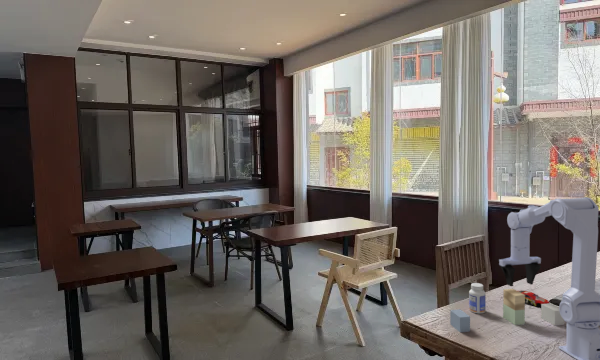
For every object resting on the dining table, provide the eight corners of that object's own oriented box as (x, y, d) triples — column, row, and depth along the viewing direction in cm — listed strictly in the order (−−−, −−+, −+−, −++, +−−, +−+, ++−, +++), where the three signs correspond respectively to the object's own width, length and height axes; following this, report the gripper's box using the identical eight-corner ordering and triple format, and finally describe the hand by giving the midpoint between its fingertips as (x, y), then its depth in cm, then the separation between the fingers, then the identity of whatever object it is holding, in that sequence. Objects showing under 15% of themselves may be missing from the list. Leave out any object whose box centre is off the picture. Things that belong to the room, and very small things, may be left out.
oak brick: (524, 309, 130) (524, 294, 130) (515, 310, 130) (515, 295, 129) (512, 302, 136) (512, 288, 136) (503, 303, 136) (503, 289, 135)
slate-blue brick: (470, 331, 127) (470, 316, 126) (459, 332, 126) (459, 317, 126) (460, 323, 133) (460, 309, 132) (450, 324, 132) (450, 310, 132)
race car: (552, 306, 144) (552, 296, 144) (545, 310, 141) (546, 300, 141) (515, 296, 155) (515, 286, 155) (508, 299, 152) (508, 289, 151)
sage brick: (524, 324, 130) (524, 309, 130) (514, 325, 130) (515, 310, 130) (512, 316, 136) (512, 302, 136) (503, 317, 136) (503, 303, 136)
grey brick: (564, 324, 129) (564, 310, 129) (554, 325, 129) (554, 311, 128) (550, 317, 135) (550, 303, 135) (541, 318, 135) (541, 304, 134)
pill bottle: (484, 308, 144) (484, 282, 143) (486, 314, 139) (486, 287, 138) (468, 307, 145) (468, 281, 145) (470, 313, 140) (470, 286, 140)
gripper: (530, 242, 142) (530, 279, 143) (493, 245, 140) (493, 282, 141) (545, 247, 135) (545, 285, 136) (506, 249, 133) (506, 289, 134)
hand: (519, 284), depth 138 cm, fingers open, 7 cm apart
